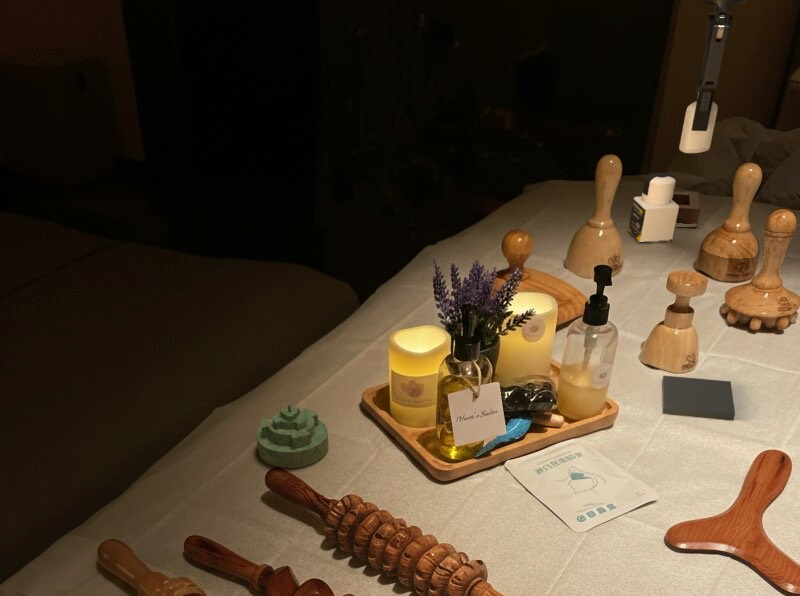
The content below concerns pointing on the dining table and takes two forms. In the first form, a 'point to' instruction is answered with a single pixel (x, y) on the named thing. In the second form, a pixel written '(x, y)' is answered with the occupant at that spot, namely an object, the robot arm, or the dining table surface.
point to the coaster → (697, 397)
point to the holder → (687, 206)
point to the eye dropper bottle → (697, 132)
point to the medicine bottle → (654, 209)
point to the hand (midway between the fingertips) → (698, 126)
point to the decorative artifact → (292, 438)
